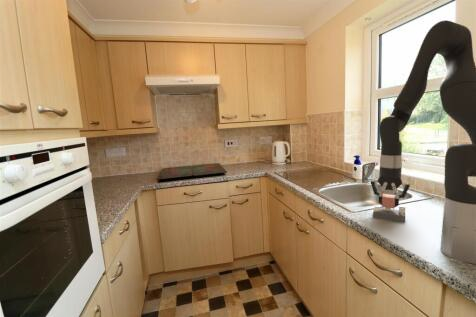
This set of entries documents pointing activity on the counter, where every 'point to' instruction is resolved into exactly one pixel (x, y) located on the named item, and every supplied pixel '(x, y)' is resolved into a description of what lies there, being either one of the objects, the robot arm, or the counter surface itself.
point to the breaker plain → (401, 209)
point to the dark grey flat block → (388, 214)
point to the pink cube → (388, 201)
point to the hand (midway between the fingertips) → (388, 205)
